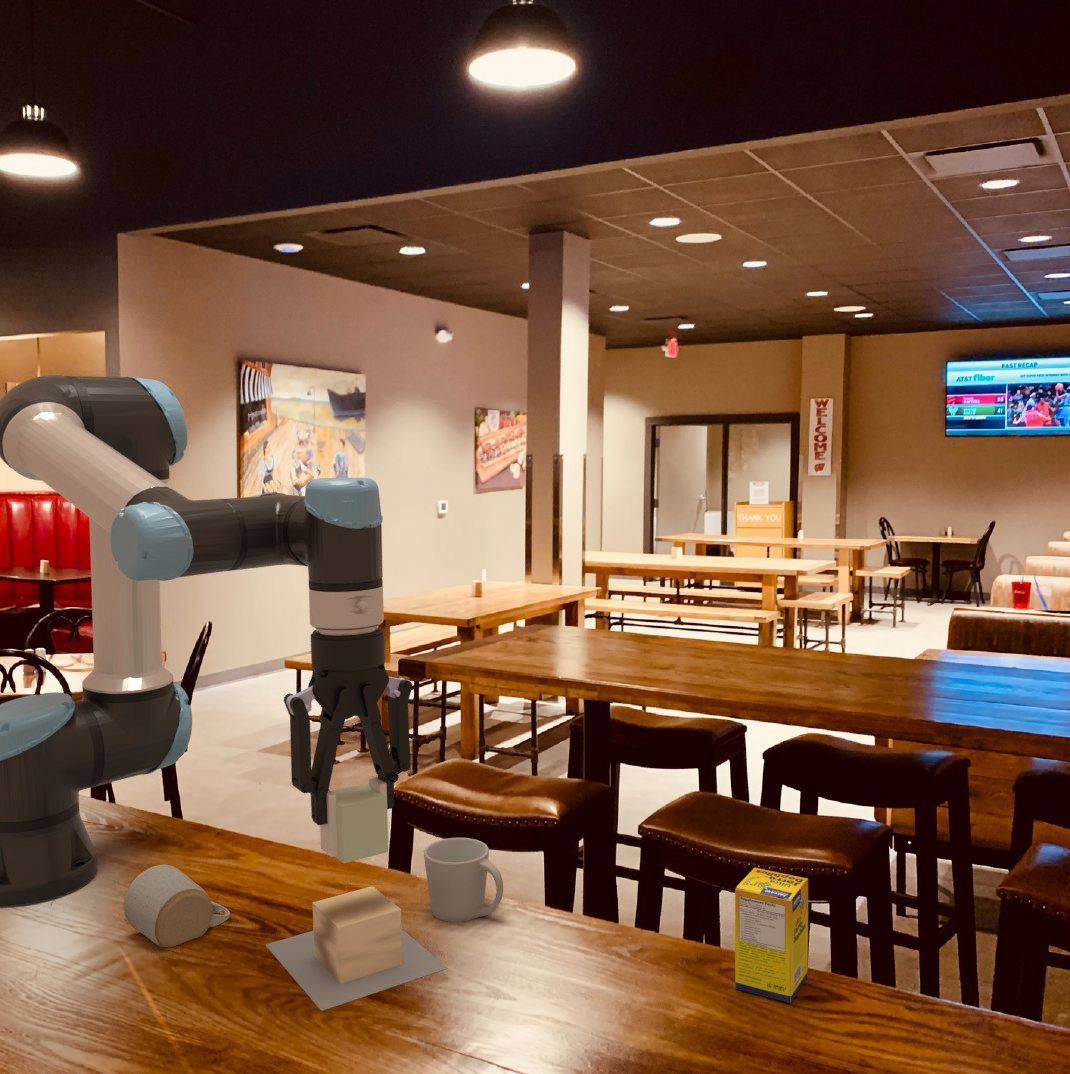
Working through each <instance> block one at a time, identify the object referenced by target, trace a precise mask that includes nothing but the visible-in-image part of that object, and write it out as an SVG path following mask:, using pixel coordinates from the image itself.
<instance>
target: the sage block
mask: <svg viewBox="0 0 1070 1074" xmlns="http://www.w3.org/2000/svg"><path fill="white" fill-rule="evenodd" d="M331 791H332V792H333V793H335V794H336V820H337V847H338V856H334V858H337V860H339V861H340V862H341V863H343V864H347V863H350V862H351V863H352V862H354V861H358V860H362V859H366V858H369V857H374V856H378V855H381V854H384V853H389V830H388V831H387V816H388V809H387V804H386V796H385V795H384V794H382V793H381V792H379V791H377V790H376V789H374V788H372V787H371V786H369V783H366V782H365V783H362V784H356V785H352V786H348V787H347V786H346V787H344V788H339V789H334V790H331Z"/></svg>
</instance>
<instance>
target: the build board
mask: <svg viewBox="0 0 1070 1074" xmlns="http://www.w3.org/2000/svg"><path fill="white" fill-rule="evenodd" d="M401 929H402V964H401V965H398V966H395V967H392V968H389V969H386V970H383V971H379V972H376V973H373V974H370V975H367V976H364V977H361V978H358V979H355V980H352V981H349V982H346V983H343V984H340V983H339V982H338V981H337V980H336V979H335V978H334V977H333V975H332V974H331V973H330V972H329V971H328V970H327V969H326V968H325V967H324V966H323V965H322V964H321V963H320V961H319V960H318V959H317V958H316V957H315V956H314V931H313V930H311V931H308V932H303V933H301V934H297V935H294V936H293V935H292V936H290V937H286V938H283V939H281V940H276V941H272V942H268V943H266V944H265V946H266V948H267V949H268V950H269V951H270V953H271V954H272V955H273V956H274V957H275V959H276V960H277V961H278V962H279V963H280V964H281V966H283V968H284V969H285V970H286V971H287V973H288V974H289V975H290V977H292V979H293V980H294V981H295V983H297V984H298V986H300V988H301V989H302V991H304V993H305V994H307V996H308V998H310V999H311V1001H312V1002H313V1003H314V1004H315V1005H316V1006H317V1007H316V1008H318V1009H319V1011H321V1012H323V1011H327V1010H329V1009H332V1008H335V1007H339V1006H340V1005H341V1006H342V1005H343V1004H347V1003H350V1002H353V1001H356V1000H359V999H361V998H364V997H368V996H371V995H374V994H377V993H380V992H382V991H385V990H388V989H392V988H395V987H398V986H400V985H403V984H406V983H409V982H412V981H415V980H418V979H422V978H425V977H427V976H430V975H433V974H436V973H439V972H441V971H445V970H447V969H449V968H448V967H447V966H446V965H445V964H443V962H441V961H440V960H439V959H438V958H436V957H435V956H434V955H433V954H432V953H431V952H430V951H428V950H427V949H426V947H424V946H423V945H422V944H420V943H419V942H418V941H417V940H416V939H414V938H413V937H412V936H411V935H410V934H409V933H407V932H406V931H405V930H404V928H402V927H401Z"/></svg>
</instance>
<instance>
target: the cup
mask: <svg viewBox="0 0 1070 1074" xmlns="http://www.w3.org/2000/svg"><path fill="white" fill-rule="evenodd" d="M489 853H490V849H489V847H488V845H487V844H486V843H485V842H483V841H481V840H478V839H474V838H468V837H449V838H444V839H439V840H436V841H434V842H432V843H430V844H428V845H427V846H426V847H425V849H424V850H423V857H424V865H425V874H426V880H427V888H428V889H427V890H428V894H429V900H430V901H429V902H430V906H431V907H430V908H431V911H432V915H433V916H434V917H435V918H436V919H439V920H441V921H444V922H451V923H461V922H466V921H471V920H474V919H478V918H479V917H485V916H488V915H489V914H491V913H492V912H495V911H496V909H497V908H498V907H499V905H500V904H501V901H502V899H503V893H504V881H503V877H502V874H501V872H500V870H499V868H498V867H496V865H494V864H493V863H492V862H491V861H490V860H489ZM488 873H489V874H490V875H491V876H492V878H493V880H494V883H495V890H496V893H495V898H494V900H493V902H492V903H491V904H489V905H485V904H484V902H485V895H486V888H487V879H488V878H487V876H488Z"/></svg>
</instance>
